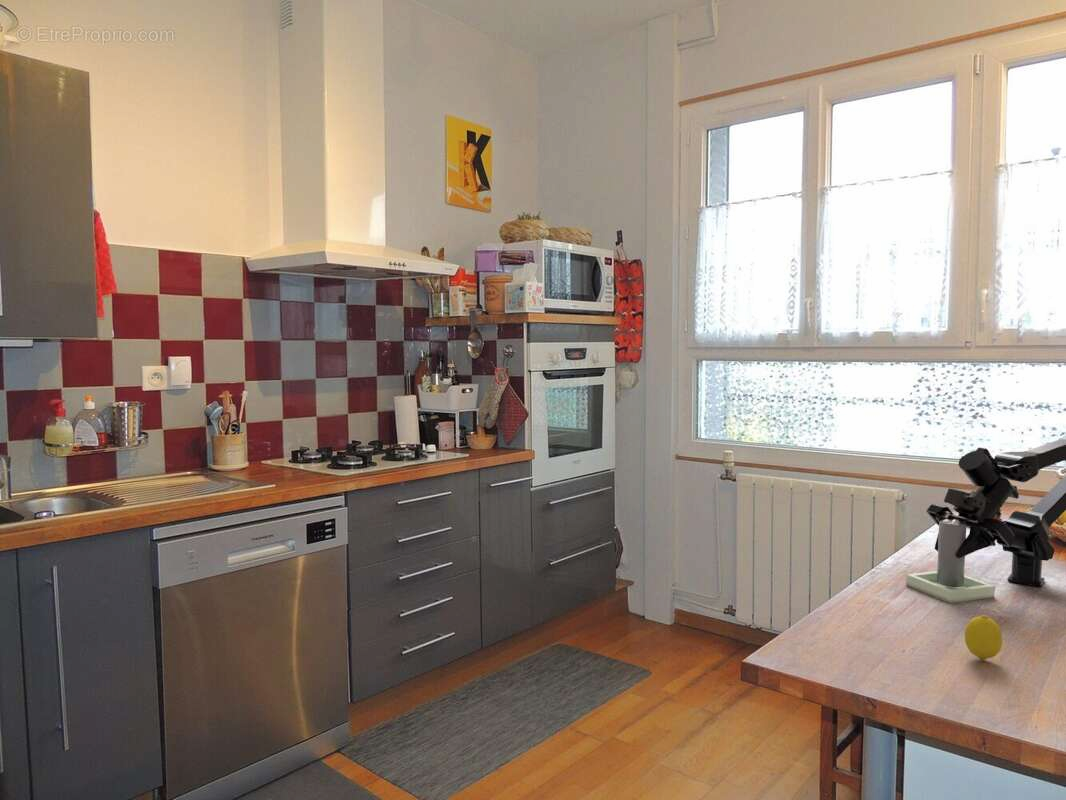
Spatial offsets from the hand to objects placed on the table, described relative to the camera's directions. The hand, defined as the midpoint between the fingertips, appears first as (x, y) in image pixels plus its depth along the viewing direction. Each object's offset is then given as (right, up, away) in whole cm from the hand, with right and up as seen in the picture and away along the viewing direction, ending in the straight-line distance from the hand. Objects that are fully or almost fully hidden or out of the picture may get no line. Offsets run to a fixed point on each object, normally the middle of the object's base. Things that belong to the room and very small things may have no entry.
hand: (946, 553), depth 164 cm
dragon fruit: (+41, -4, +56) cm, 70 cm away
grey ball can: (+1, -7, +1) cm, 7 cm away
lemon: (-13, -12, -34) cm, 38 cm away
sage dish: (+1, -9, +1) cm, 9 cm away
